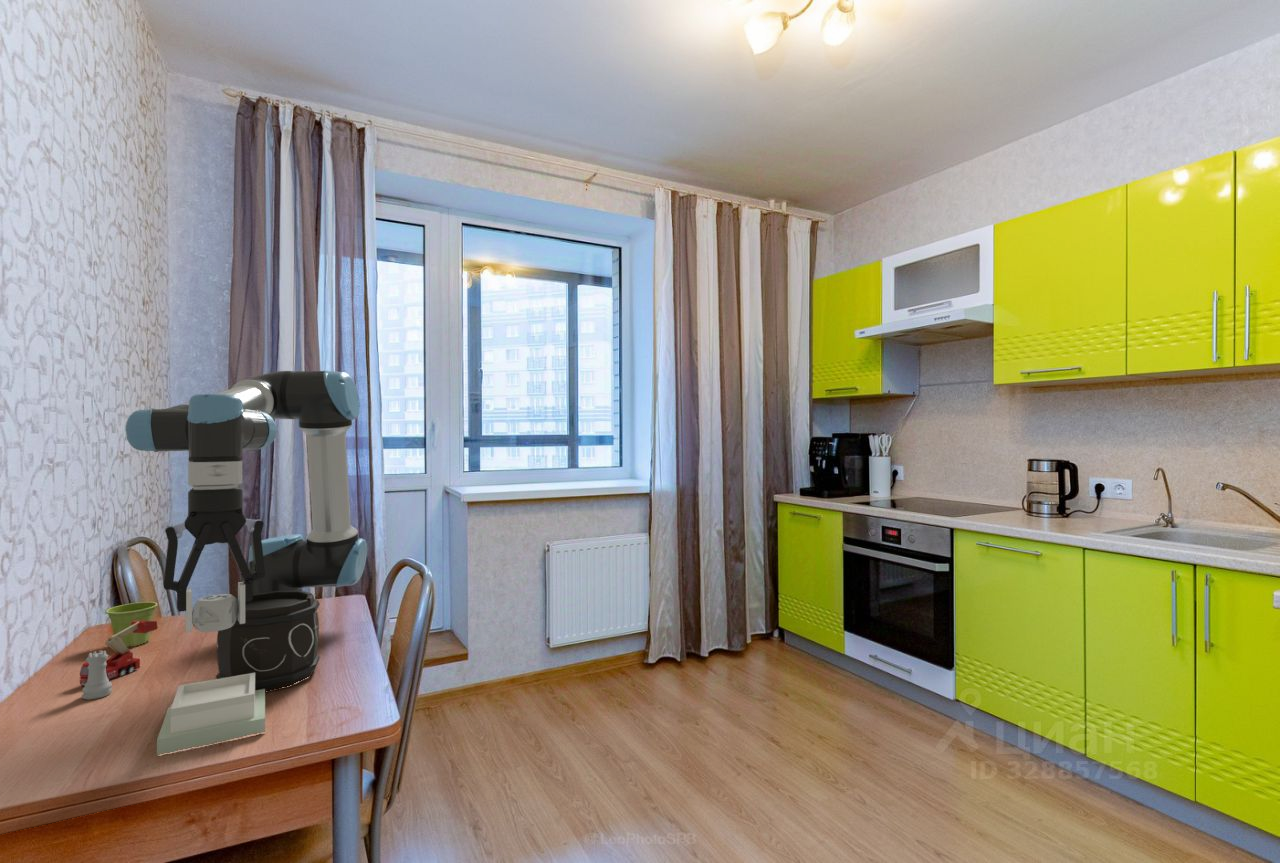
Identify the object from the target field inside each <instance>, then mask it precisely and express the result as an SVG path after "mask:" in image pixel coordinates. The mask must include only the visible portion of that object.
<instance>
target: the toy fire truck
mask: <svg viewBox="0 0 1280 863" xmlns="http://www.w3.org/2000/svg"><path fill="white" fill-rule="evenodd" d="M155 630H158V621H157V620H152V621H133V622H132V623H131V626H130V627H128V628H126V629H124V630H123V631H121V632H119V633H117V634H116V635H114V634H113V635H112V634H111V635H110V636H109V637H108V638H107V640H106V641H105V642H104V644H105V645H106V646H107V647H108V648H109V649H111V650H113V651H114V652H116V653H114V654H113V655H112V656H110V657H109V658H107V659H106V660H105V662H106V664H107V665H106V674H107V678H108V679H109V680H111V679H114V678H117V677H124V676H125V675H126V674H127V673H128V674H132V673H134V672H135V670H137V669H140V668H141V666H140V665H141V662H140V661H141V659H140V658H138V657H133V656H134V654H133V651H131V650H130V649H129V647H127V646H126V645H125V644H124V643H123V641H122V640H121V639H120V638H122V637H124V636H126V635H127V634H129V633H131V632H133V633H148V632H150V633H151V632H153V631H155ZM88 666H89V663H88V662H87V661H85V662H84V663H83V664H82V665H81V667H80V671H79V676H80V677H79V685H80V686H84V687H85V684H86V683H87V680H88V675H89V669H88V668H87V667H88Z"/></svg>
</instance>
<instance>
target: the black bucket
mask: <svg viewBox="0 0 1280 863" xmlns="http://www.w3.org/2000/svg"><path fill="white" fill-rule="evenodd" d="M236 599H237V601H238V597H237V598H236ZM319 606H320V601H319V600H318V599H315V596H314V594H313V593H311V592H307V591H303V590H302V591H273V592H266V593H259V594H253V599H252V601H251V602H245V623H244V624H240V623H239V621H238V616H237V619H236V622H235V624H234V625H233V626H232V627H230V628H228V629H225V630H220V631H217V636H216V659H217V666H218V673H217V674H216V676H215V679H220V678H226V677H232V676H238V675H244V674H250V673H255V691H256V690H261V689H265V692H266V691H270V690H274V689H279V688H282V687H287V686H290V685H293V684H294V683H296V682H298V681H301V680H303V679H305V678H307V677H309V676H311V677H312V675H313V673H314V671H315V670H316V669H317V668H316V667H317V666H318V663H319V660H320V658H321V655H319V654H318V648H319V641H320V640H319V639H320V634H319V632H320V627H319V626H320V623H319V622H320V621H319V613H318V608H319ZM311 674H312V675H311ZM279 690H280V689H279ZM270 692H271V691H270ZM266 693H267V692H266Z"/></svg>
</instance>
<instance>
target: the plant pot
mask: <svg viewBox="0 0 1280 863" xmlns="http://www.w3.org/2000/svg"><path fill="white" fill-rule="evenodd" d="M156 607H158V603H157V602H154V601H141V602H133V603H126V604H122V605H117V606H112V607H110V608H108V609H106V610H105V613H106V614H108V618H109V620H110V621H111V622H110V623H111V627H112V632H113V636H114V635H116V634H117V633H119V632H121V631H123V630H124V629H126V628H128V627H130V626H131V623H132V622H133V621H153V618H154V613H155V612H156V611H155V610H156ZM150 636H151V631H150V632H148V633H133V632H131V633H129V634H127V635H126V636H124V637H122V638H120V639H121V640H122V641H123V643H124V644H125V645H126V646H127V648H129V647H128V646H134V647H136V646H135V645H138V646H141V645H140V644H142V645H144V644H143V643H145V644H146V643H147V641H148V642H149V641H150Z"/></svg>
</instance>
